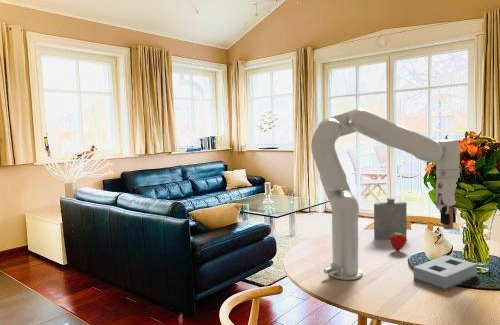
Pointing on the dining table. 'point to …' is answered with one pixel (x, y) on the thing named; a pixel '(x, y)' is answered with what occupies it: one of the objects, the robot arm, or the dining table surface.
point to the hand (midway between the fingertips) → (448, 222)
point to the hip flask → (389, 219)
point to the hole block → (444, 272)
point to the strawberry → (398, 241)
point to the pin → (450, 219)
